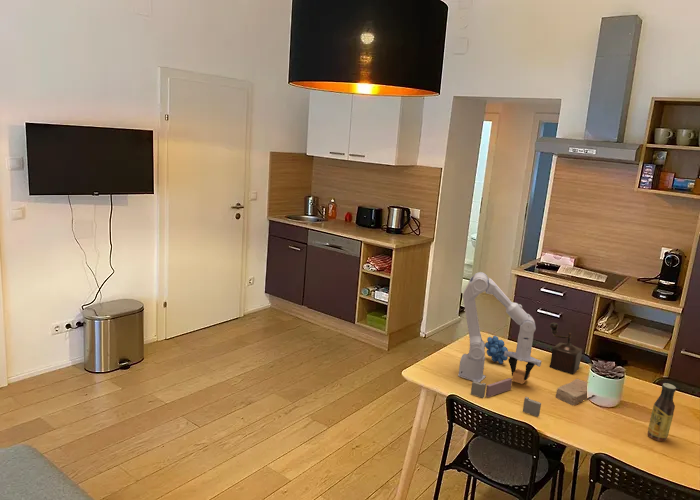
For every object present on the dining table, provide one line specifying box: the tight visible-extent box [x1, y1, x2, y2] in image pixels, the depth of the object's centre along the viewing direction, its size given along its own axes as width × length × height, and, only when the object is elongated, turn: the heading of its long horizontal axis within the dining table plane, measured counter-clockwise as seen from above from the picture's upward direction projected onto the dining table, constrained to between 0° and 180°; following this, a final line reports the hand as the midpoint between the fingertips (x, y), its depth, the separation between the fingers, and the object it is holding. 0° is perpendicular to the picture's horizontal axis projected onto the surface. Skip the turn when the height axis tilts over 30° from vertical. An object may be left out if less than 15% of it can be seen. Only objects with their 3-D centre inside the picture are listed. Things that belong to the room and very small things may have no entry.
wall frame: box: [470, 381, 542, 418], centre depth 205 cm, size 26×2×6 cm, turn 56°
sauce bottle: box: [647, 382, 677, 442], centre depth 187 cm, size 6×6×20 cm
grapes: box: [484, 335, 509, 365], centre depth 242 cm, size 12×7×12 cm, turn 44°
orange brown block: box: [511, 367, 531, 385], centre depth 224 cm, size 4×9×4 cm, turn 146°
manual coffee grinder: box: [549, 322, 583, 375], centre depth 243 cm, size 16×11×18 cm
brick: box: [555, 378, 589, 406], centre depth 216 cm, size 17×8×5 cm, turn 129°
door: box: [485, 377, 513, 398], centre depth 214 cm, size 14×2×4 cm, turn 126°
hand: (519, 377), depth 222 cm, fingers closed on orange brown block, 4 cm apart
